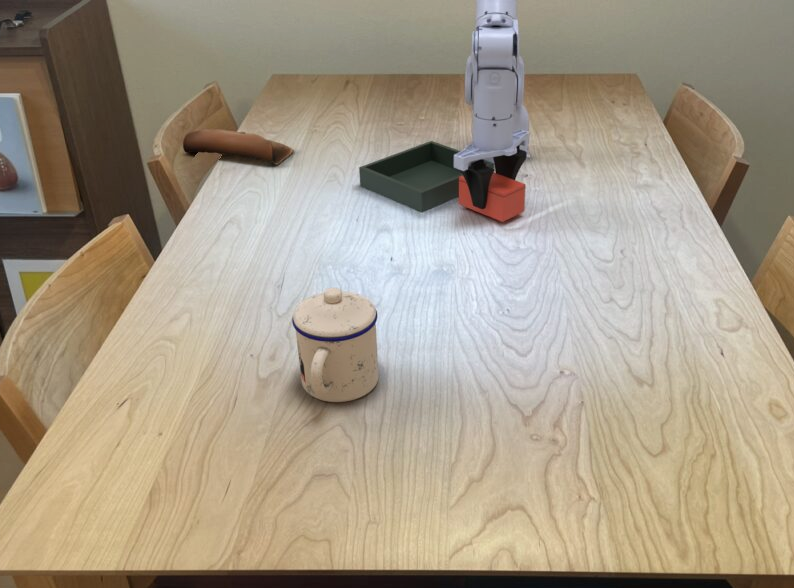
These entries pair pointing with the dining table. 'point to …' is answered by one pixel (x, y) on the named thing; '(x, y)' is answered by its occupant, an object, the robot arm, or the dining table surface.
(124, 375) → the dining table surface
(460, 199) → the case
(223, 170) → the dining table surface
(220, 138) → the sunglasses case
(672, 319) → the dining table surface
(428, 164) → the tote
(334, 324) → the teacup with lid
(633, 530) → the dining table surface
